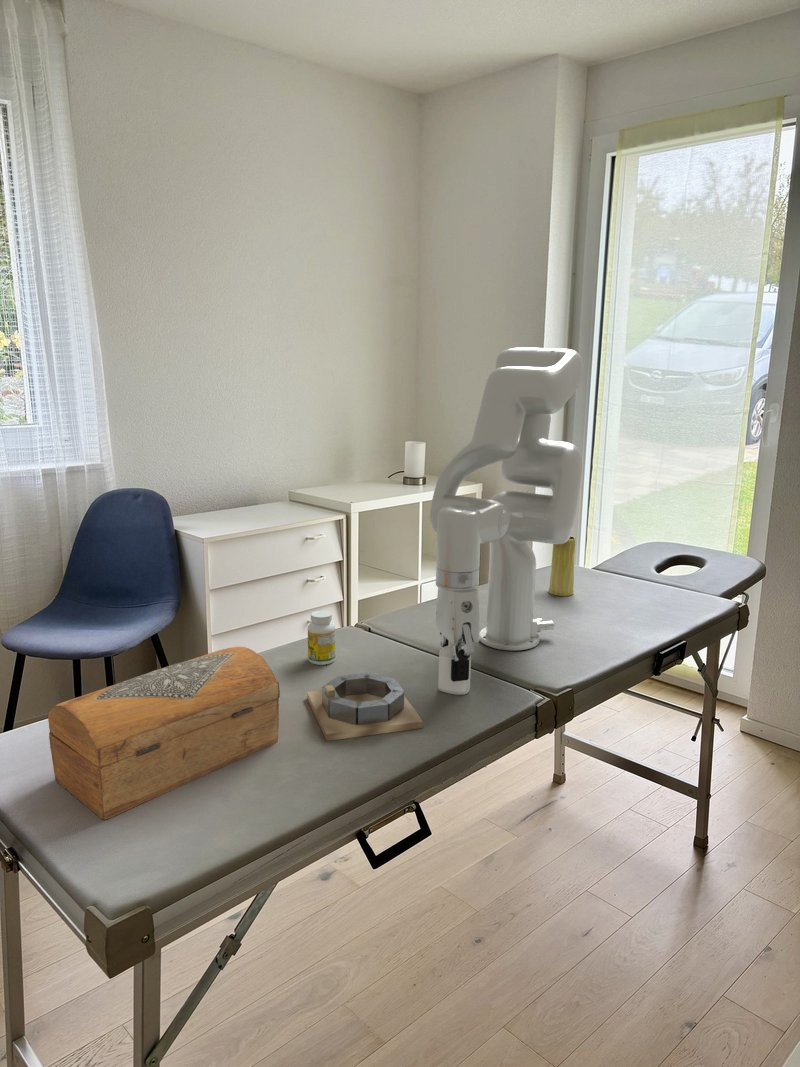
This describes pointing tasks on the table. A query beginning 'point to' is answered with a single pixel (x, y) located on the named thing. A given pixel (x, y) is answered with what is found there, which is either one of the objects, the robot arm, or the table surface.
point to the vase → (562, 568)
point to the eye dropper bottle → (445, 672)
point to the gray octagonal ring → (362, 710)
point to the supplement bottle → (321, 638)
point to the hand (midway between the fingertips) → (454, 673)
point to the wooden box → (163, 729)
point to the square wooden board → (343, 730)
